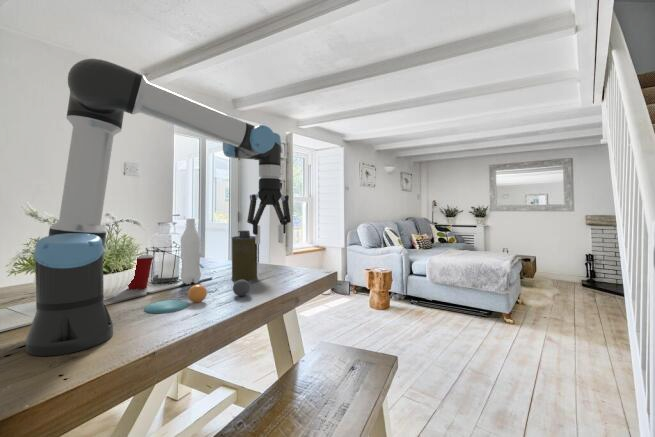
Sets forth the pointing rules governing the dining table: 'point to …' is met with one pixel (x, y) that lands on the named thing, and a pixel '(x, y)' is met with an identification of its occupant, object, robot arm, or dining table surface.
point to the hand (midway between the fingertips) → (269, 243)
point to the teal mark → (166, 306)
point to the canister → (244, 257)
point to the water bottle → (190, 253)
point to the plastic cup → (141, 272)
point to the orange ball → (197, 293)
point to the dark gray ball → (241, 287)
